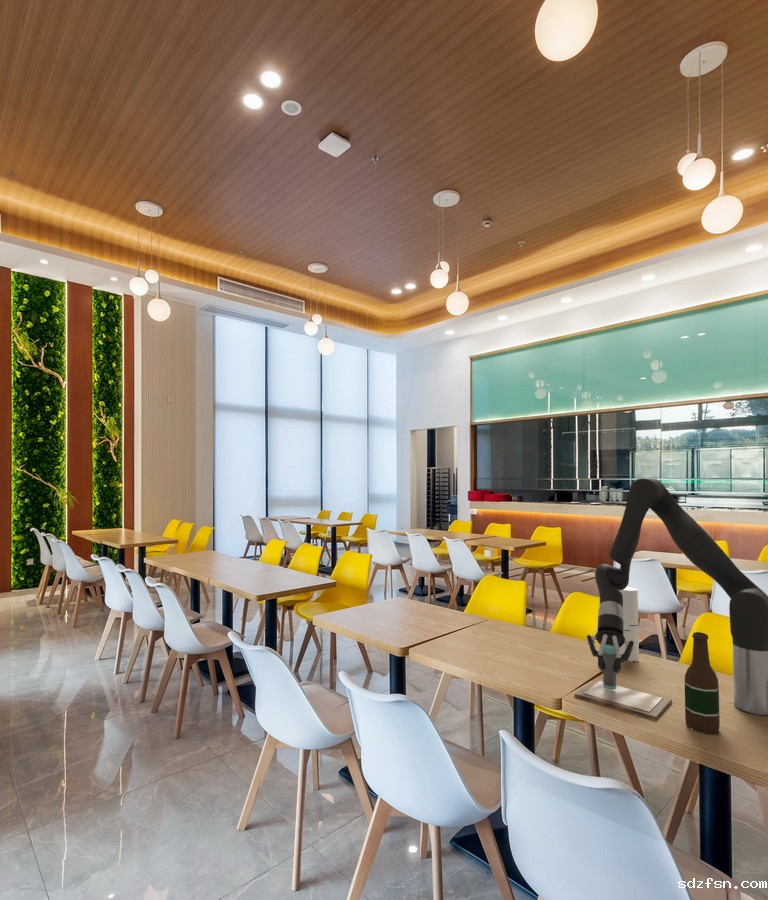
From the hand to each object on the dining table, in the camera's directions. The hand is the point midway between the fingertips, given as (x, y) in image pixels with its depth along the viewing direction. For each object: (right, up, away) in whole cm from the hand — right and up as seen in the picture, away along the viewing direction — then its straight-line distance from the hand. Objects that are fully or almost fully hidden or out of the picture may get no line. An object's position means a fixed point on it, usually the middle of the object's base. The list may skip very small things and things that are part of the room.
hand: (609, 670), depth 154 cm
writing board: (+3, -8, -2) cm, 9 cm away
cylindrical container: (+22, -11, +35) cm, 42 cm away
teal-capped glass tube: (+1, -6, +1) cm, 6 cm away
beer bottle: (+16, -7, -19) cm, 26 cm away
